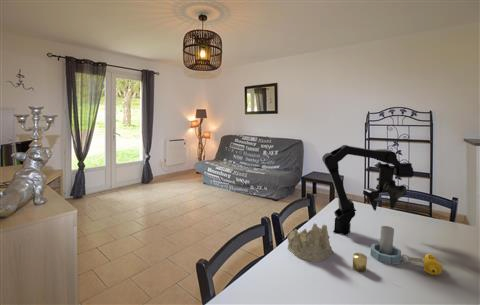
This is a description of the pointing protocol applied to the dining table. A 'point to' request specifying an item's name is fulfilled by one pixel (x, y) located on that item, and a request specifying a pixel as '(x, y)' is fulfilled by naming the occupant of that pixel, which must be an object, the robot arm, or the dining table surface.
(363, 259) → the short brass cylinder
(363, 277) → the dining table surface
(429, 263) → the pressure relief valve
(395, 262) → the collar
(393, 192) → the robot arm
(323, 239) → the jagged beige rock
